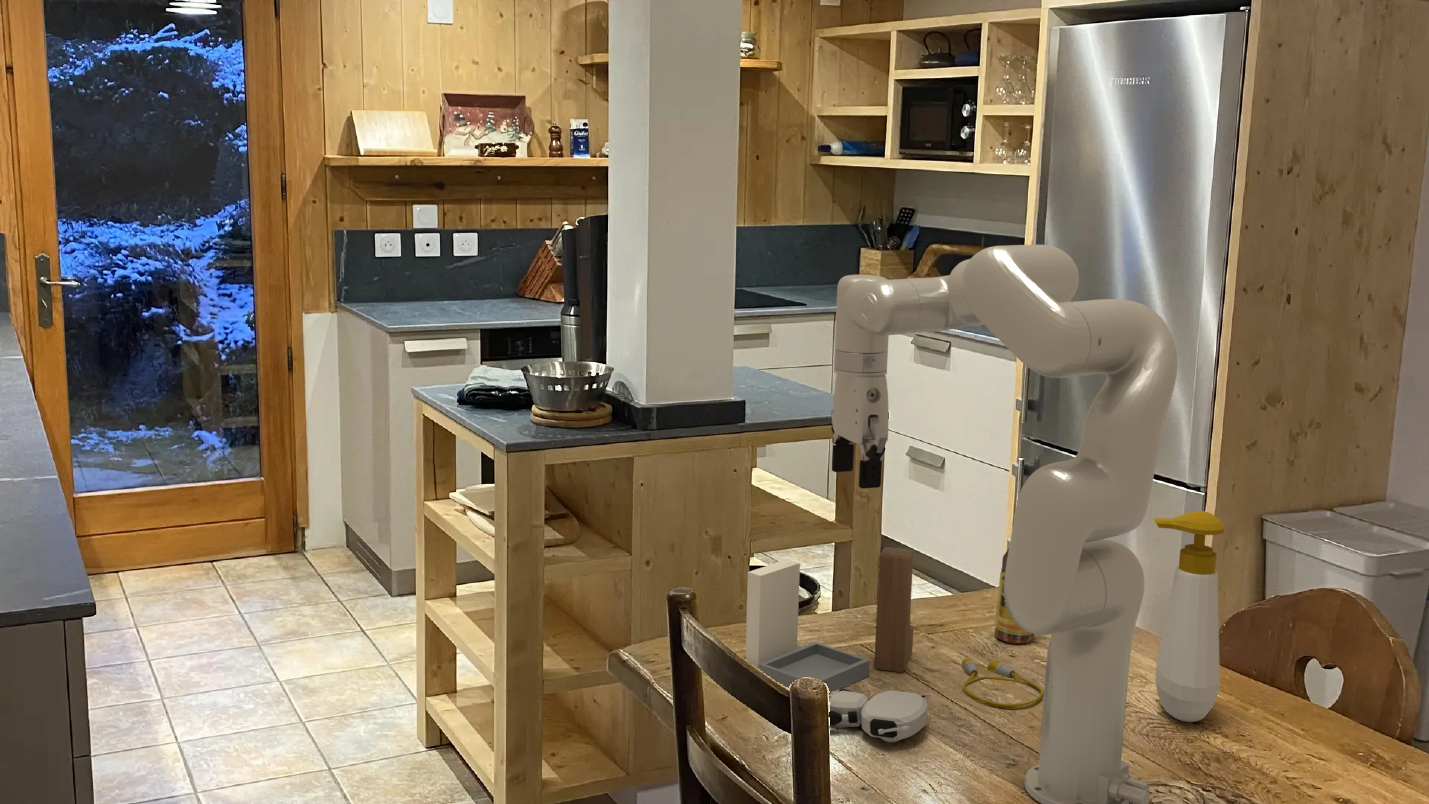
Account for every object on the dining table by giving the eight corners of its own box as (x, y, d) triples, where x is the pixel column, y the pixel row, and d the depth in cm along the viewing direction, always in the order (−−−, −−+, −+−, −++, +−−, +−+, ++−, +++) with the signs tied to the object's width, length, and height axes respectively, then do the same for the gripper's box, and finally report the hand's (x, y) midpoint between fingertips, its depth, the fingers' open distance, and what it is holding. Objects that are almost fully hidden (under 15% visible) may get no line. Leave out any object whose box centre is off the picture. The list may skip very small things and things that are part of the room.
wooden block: (883, 649, 209) (888, 537, 206) (912, 652, 208) (918, 540, 205) (873, 669, 201) (878, 554, 198) (903, 673, 200) (909, 557, 196)
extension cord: (1044, 675, 201) (1045, 663, 201) (1042, 717, 186) (1043, 703, 186) (962, 666, 204) (963, 653, 204) (953, 706, 189) (954, 692, 189)
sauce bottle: (992, 643, 213) (999, 522, 209) (996, 630, 219) (1003, 512, 215) (1034, 648, 211) (1042, 526, 207) (1037, 634, 217) (1045, 516, 213)
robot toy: (803, 742, 178) (912, 756, 172) (801, 709, 178) (912, 723, 171) (833, 708, 189) (937, 720, 183) (832, 677, 189) (937, 689, 182)
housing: (869, 676, 198) (873, 578, 196) (813, 700, 189) (817, 599, 186) (786, 647, 209) (789, 555, 206) (730, 669, 200) (732, 573, 197)
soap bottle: (1132, 691, 195) (1148, 497, 190) (1207, 697, 193) (1225, 501, 188) (1143, 727, 182) (1160, 520, 177) (1223, 735, 181) (1243, 526, 175)
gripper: (911, 371, 184) (905, 492, 187) (860, 352, 200) (855, 464, 203) (861, 373, 182) (855, 495, 185) (813, 353, 198) (809, 466, 201)
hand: (855, 479), depth 194 cm, fingers open, 9 cm apart
